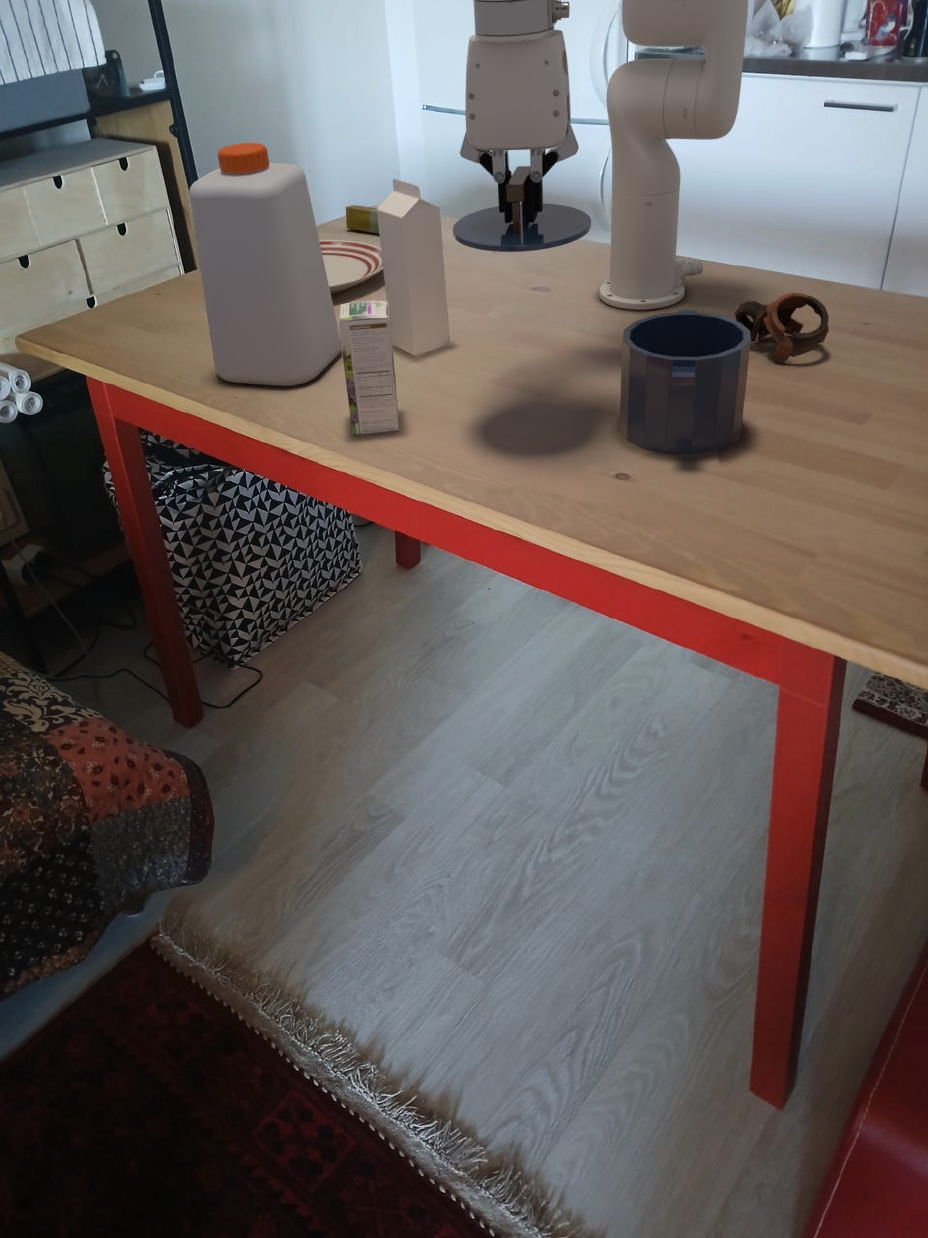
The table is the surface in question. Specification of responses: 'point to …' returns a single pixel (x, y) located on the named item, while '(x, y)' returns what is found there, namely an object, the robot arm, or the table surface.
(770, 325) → the rusty metal shackles
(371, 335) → the syrup box
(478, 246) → the lid
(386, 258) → the milk
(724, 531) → the table surface
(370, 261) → the dinner plate
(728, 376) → the crock
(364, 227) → the medication box
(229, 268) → the plastic bottle
